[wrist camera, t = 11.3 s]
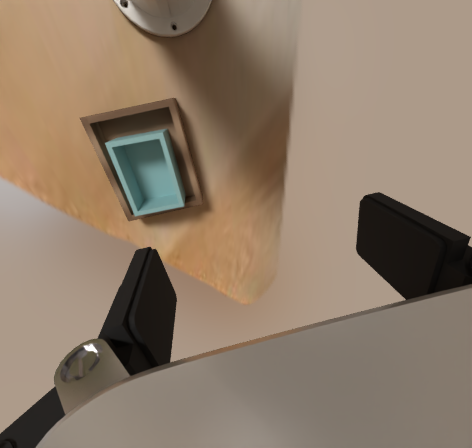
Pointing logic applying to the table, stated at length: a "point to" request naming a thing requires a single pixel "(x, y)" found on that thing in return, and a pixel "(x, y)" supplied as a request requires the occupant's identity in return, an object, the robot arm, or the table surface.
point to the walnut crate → (138, 122)
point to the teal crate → (148, 171)
